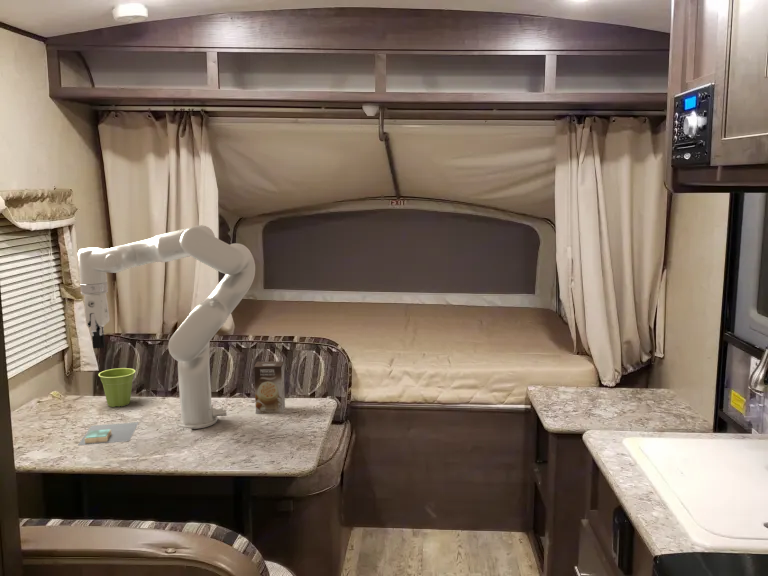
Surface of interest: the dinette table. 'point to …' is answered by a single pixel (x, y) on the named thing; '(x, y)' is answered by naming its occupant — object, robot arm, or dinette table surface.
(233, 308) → the robot arm
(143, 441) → the dinette table surface
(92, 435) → the tile
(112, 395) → the plant pot
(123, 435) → the mat
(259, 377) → the coffee box
